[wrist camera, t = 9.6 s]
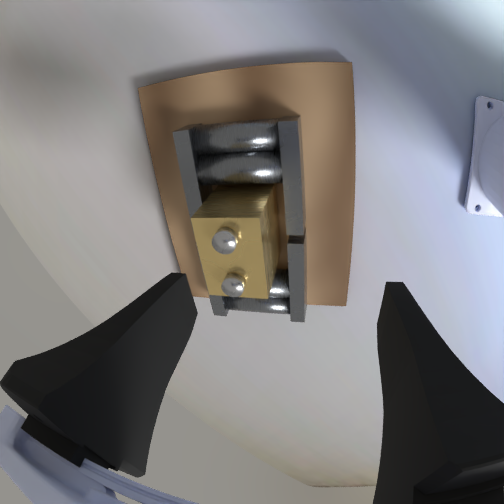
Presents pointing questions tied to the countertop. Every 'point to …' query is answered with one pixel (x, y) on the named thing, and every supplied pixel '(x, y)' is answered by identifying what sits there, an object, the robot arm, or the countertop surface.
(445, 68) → the countertop surface
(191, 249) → the chain board
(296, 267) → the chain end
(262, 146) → the chain end
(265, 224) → the brass block with studs
